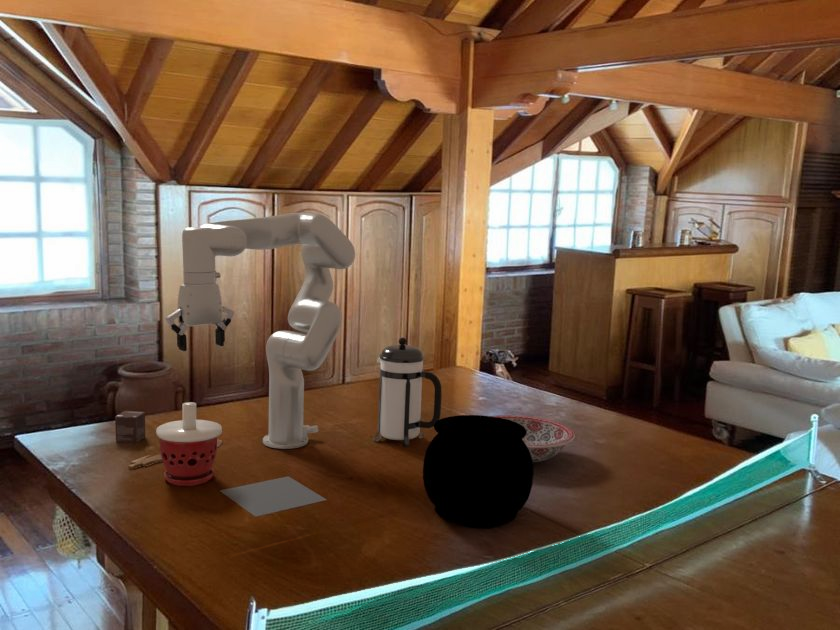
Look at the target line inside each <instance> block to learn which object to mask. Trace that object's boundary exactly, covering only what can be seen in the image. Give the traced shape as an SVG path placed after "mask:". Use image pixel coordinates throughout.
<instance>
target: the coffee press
mask: <svg viewBox="0 0 840 630" xmlns="http://www.w3.org/2000/svg"><path fill="white" fill-rule="evenodd" d="M407 342H408V341H407V339H406V337H400V338H399V339H398V344H393V345H387V346H386V347H385V348H383V349H382V350H381V353H379V356H378V358H377V360H376V361H377V363H380V366H379V385H378V387H379V388H378V389H379V390H378V410H377V411H378V412H377V414H378V415H377V431H376V433H375V434H374V436H373V440H374V441H375V442H377V443H378V442H380V441H381V440H382V439H383V438H384V439H388V440H393V441H394V440H395V441H401V442H402V446H403V448H409V447H410V440H412V439H414V438H419V439H420V440H421V438H422V439H423V438H424V436H425V435H424V434H423V432H422V431H421V428H422V429H431V428H434V424H435V423H436V422H437V421H438V420H440V419H441V413H442V412H441V410H442V395H443V394H442V393H443V392H442V390H443V389H442V384H441V381H440V379H439V378H438V377H437V375H436V374H434V373H432V372H429V371H427V372H426V371H424V368H423V367H424V360H425V355H424V354H423V351H422V350H421V349H420V348H418V347H416V346H412V345H410V344H407ZM423 379H427V380H428V381H429V380H430V381H431V382H432V384H433V386H434V387H433V388H434V398H433V399H434V401H433V416H432V419H431V420H430V421H422V418H421V416H422V415H421V414H422V393H423V392H422V391H423ZM419 434H421V435H420V436H419ZM379 435H380V436H379ZM378 436H379V438H378V439H376V438H377V437H378ZM408 446H409V447H408Z"/></svg>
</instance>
